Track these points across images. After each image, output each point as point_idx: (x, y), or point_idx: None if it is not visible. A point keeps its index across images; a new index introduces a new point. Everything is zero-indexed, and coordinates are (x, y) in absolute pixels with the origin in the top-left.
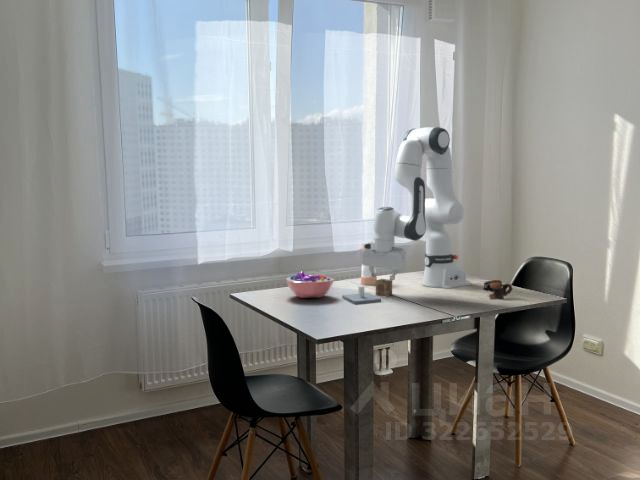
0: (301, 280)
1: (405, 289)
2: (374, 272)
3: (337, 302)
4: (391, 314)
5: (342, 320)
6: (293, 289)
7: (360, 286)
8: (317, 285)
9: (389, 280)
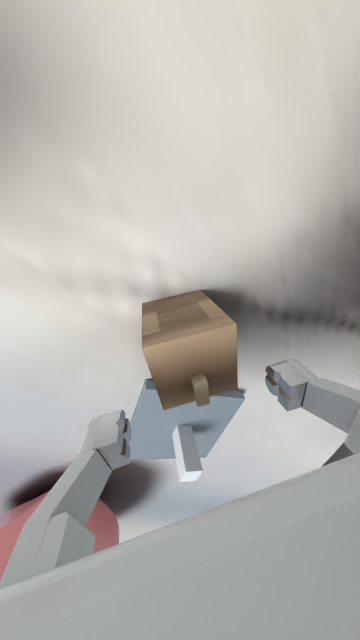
0: None
1: (163, 69)
2: (96, 450)
3: (157, 467)
4: (315, 424)
5: (260, 485)
6: None
7: (192, 479)
8: None
9: (229, 348)
